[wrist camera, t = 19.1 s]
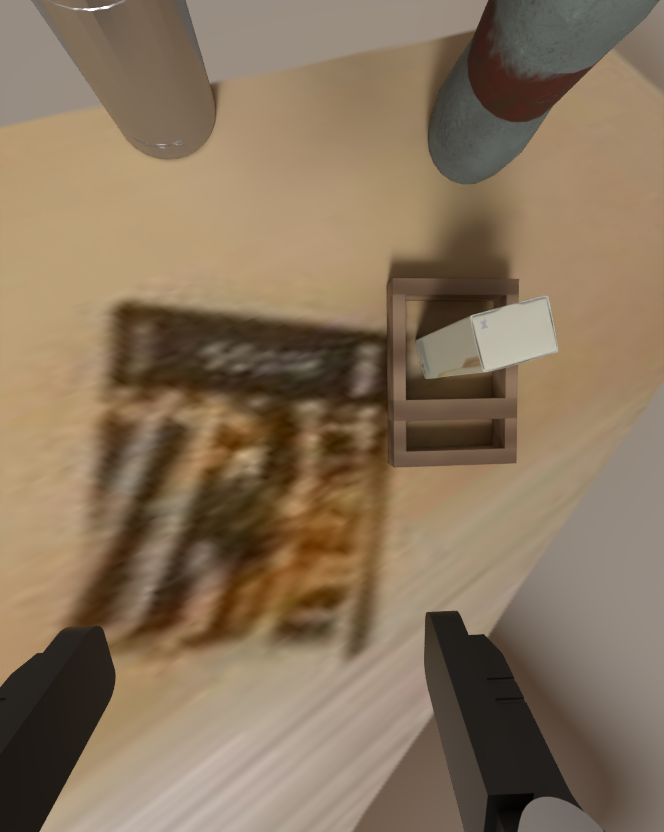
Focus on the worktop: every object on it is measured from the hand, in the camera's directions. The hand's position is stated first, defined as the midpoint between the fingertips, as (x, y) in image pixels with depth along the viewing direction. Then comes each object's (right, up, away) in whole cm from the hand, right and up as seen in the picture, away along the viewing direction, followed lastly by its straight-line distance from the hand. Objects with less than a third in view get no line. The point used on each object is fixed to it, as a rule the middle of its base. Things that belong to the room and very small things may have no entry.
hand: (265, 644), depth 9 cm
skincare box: (+14, +12, +30) cm, 35 cm away
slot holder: (+14, +10, +30) cm, 34 cm away
